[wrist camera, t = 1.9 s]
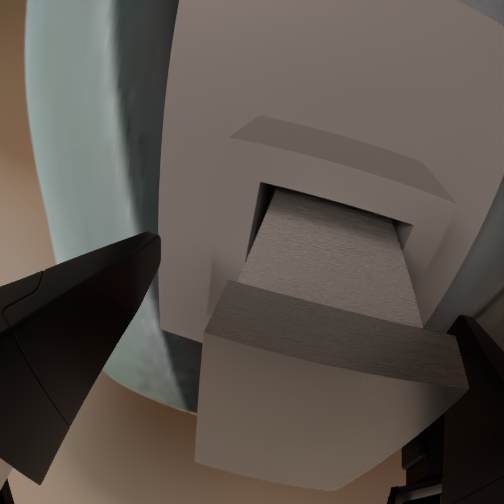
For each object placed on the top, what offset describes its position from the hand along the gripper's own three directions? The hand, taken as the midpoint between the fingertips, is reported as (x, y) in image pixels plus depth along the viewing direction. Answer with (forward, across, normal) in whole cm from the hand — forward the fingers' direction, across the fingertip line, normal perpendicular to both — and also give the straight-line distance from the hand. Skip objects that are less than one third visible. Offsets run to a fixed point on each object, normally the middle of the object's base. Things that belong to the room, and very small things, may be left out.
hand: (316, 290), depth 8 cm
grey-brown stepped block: (+5, 0, 0) cm, 5 cm away
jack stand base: (+6, 0, 0) cm, 6 cm away
